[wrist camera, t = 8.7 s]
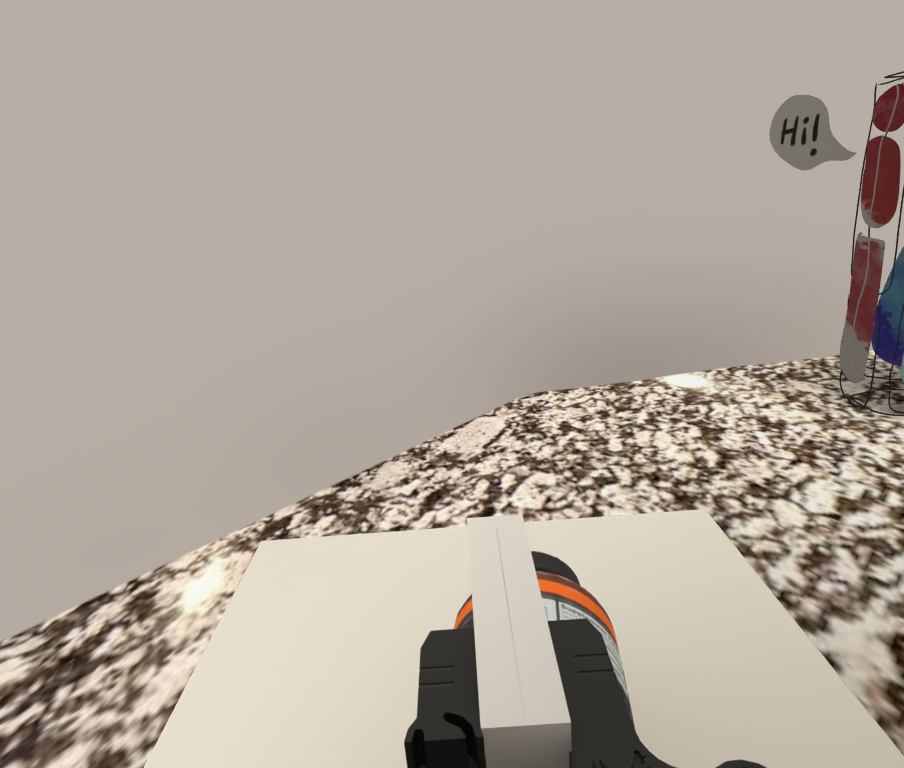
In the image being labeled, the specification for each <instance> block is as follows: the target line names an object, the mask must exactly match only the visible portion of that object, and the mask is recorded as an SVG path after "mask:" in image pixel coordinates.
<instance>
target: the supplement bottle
mask: <svg viewBox="0 0 904 768" xmlns="http://www.w3.org/2000/svg"><path fill="white" fill-rule="evenodd" d="M531 554H532V558H533V562H534V567H535V571H536V575H537V579H538V584H539V588H540V592H541V596H542V601H543V605H544V609H545V613H546V618H547V621H555V620H569V619H583V618H587V619H588V620H589V621H590V622H591V623H592V624H593V626H594V627H595V628H596V629H597V630H598V631H599V632H600V633H601V634H602V637H603V639H604V642H605V645H606V648H607V651H608V655H609V657H610V659H611V662H612V665H613V668H614V673H615V674H616V677H617V679H618V682H619V685H620V688H621V691H622V694H623V697H624V699H625V702H626V705H627V708H628V711H629V714H630V717H631V719H632V722H633V725H634V721H633V715H632V711H631V706H630V701H629V696H628V692H627V686H626V681H625V676H624V671H623V668H622V662H621V659H620V653H619V649H618V644H617V640H616V635H615V632H614V629H613V626H612V623H611V620H610V618H609V616H608V615H607V613H606V611H605V610H604V608H603V607H602V606H601V604H600V603H599V602H598V600H597V599H596V598H595V597H594V596H593V595H592V594H591V593H590V592H588V591H587V590H586V589H585V588H583V587H581V586H580V583H579V580H578V578H577V576H576V574H575V573H574V571H573V570H572V569H571V568H570V567H569V566H568V565H567V564H566V563H565V562H563V561H561V560H560V559H559V558H557V557H554V556H552V555H549V554H546V553H543V552H537V551H531ZM462 628H474V619H473V603H472V594H471V595H470V596H469V597H468V599H467V600H466V602H465V603H464V604H463V606H462V607H461V609H460V610H459V612H458V614H457V618H456V621H455V626H454V629H462ZM634 728H635V727H634Z"/></svg>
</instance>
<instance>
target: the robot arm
mask: <svg viewBox="0 0 904 768" xmlns="http://www.w3.org/2000/svg"><path fill="white" fill-rule="evenodd" d="M467 527H468V542H469V557H470V573H471V588H472V603H473V619H474V628H462V629H447V630H433V631H430V633H429V634H428V636H427V638H426V639H425V641H424V643H423V645H422V646H421V648H420V666H419V669H420V672H419V688H418V703H417V718H416V719H415V721H414V722H413V723H412V724H411V726H410V727H409V728H408V730H407V734H406V737H405V740H404V747H405V754H406V761H407V768H677V767H674V766H671V765H669V764H667V763H665V762H663V761H662V760H660V759H658V758H657V757H656V756H654V755H653V754H652V753H651V752H650V751H649V750H648V749H647V748H646V747H645V746H644V745H643V743H642V742H641V741H640V739H639V737H638V735H637V733H636V731H635V728H634V725H633V722H632V719H631V717H630V714H629V711H628V708H627V705H626V702H625V699H624V697H623V694H622V691H621V688H620V685H619V682H618V679H617V677H616V674H615V673H614V668H613V665H612V662H611V659H610V657H609V655H608V651H607V648H606V645H605V642H604V639H603V637H602V634H601V633H600V632H599V631H598V630H597V629H596V628H595V627H594V626H593V624H592V623H591V622H590V621H589V620H588V619H587V618H583V619H569V620H555V621H547V618H546V613H545V609H544V605H543V601H542V596H541V592H540V588H539V584H538V579H537V575H536V571H535V567H534V562H533V558H532V554H531V550H530V545H529V541H528V537H527V532H526V528H525V524H524V520H523V515H508V516H494V517H480V518H467ZM716 768H766V767H765V766H763V765H761V764H759V763H755V762H751V761H746V760H742V759H741V760H731V761H726V762H724V763H722V764H721V765H719V766H717V767H716Z"/></svg>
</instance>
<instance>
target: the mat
mask: <svg viewBox="0 0 904 768" xmlns="http://www.w3.org/2000/svg"><path fill="white" fill-rule="evenodd" d="M524 524H525V528H526V532H527V537H528V541H529V545H530V550H531V551H537V552H543V553H546V554H549V555H552V556H554V557H557V558H559V559H560V560H561V561H563V562H565V563H566V564H567V565H568V566H569V567H570V568H571V569H572V570H573V571H574V573H575V574H576V576H577V578H578V580H579V583H580V586H581V587H583V588H585V589H586V590H587V591H588V592H590V593H591V594H592V595H593V596H594V597H595V598H596V599H597V600H598V602H599V603H600V604H601V606H602V607H603V608H604V610H605V611H606V613H607V615H608V616H609V618H610V620H611V623H612V626H613V629H614V632H615V635H616V640H617V644H618V649H619V653H620V659H621V662H622V668H623V671H624V676H625V681H626V686H627V692H628V696H629V701H630V706H631V711H632V715H633V721H634V727H635V731H636V733H637V735H638V737H639V739H640V741H641V742H642V743H643V745H644V746H645V747H646V748H647V749H648V750H649V751H650V752H651V753H652V754H653V755H654V756H656V757H657V758H658V759H660V760H662V761H663V762H665V763H667V764H669V765H671V766H674V767H677V768H716V767H717V766H719V765H721V764H722V763H724V762H726V761H731V760H741V759H742V760H746V761H751V762H755V763H759V764H761V765H763V766H765V767H766V768H904V756H903V755H902V753H901V752H900V751H899V750H898V748H897V747H896V746H895V745H894V743H893V742H892V741H891V740H890V738H889V737H888V736H887V735H886V733H885V732H884V731H883V730H882V728H881V727H880V726H879V725H878V724H877V722H876V721H875V720H874V719H873V717H872V716H871V715H870V714H869V712H868V711H867V710H866V709H865V707H864V706H863V705H862V704H861V702H860V701H859V700H858V699H857V697H856V696H855V695H854V694H853V692H852V691H851V690H850V689H849V687H848V686H847V685H846V684H845V683H844V681H843V680H842V679H841V678H840V676H839V675H838V674H837V673H836V671H835V670H834V669H833V668H832V666H831V665H830V664H829V663H828V661H827V660H826V659H825V658H824V656H823V655H822V654H821V653H820V651H819V650H818V649H817V648H816V647H815V645H814V644H813V643H812V642H811V640H810V639H809V638H808V637H807V635H806V634H805V633H804V632H803V630H802V629H801V628H800V627H799V625H798V624H797V623H796V622H795V620H794V619H793V618H792V617H791V615H790V614H789V613H788V612H787V610H786V609H785V608H784V607H783V606H782V604H781V603H780V602H779V601H778V599H777V598H776V597H775V596H774V594H773V593H772V592H771V591H770V589H769V588H768V587H767V586H766V584H765V583H764V582H763V581H762V579H761V578H760V577H759V576H758V574H757V573H756V572H755V571H754V570H753V568H752V567H751V566H750V565H749V563H748V562H747V561H746V560H745V558H744V557H743V556H742V555H741V553H740V552H739V551H738V550H737V548H736V547H735V546H734V545H733V543H732V542H731V541H730V540H729V538H728V537H727V536H726V535H725V533H724V532H723V531H722V530H721V529H720V527H719V526H718V525H717V524H716V522H715V521H714V520H713V519H712V517H711V516H710V515H709V514H708V512H707V511H706V510H705V509H703V510H689V511H675V512H661V513H647V514H633V515H619V516H605V517H591V518H577V519H564V520H550V521H536V522H524ZM471 594H472V588H471V573H470V557H469V542H468V527H467V526H466V527H452V528H438V529H424V530H410V531H397V532H383V533H369V534H355V535H341V536H327V537H313V538H299V539H285V540H271V541H261V543H260V545H259V547H258V549H257V551H256V553H255V555H254V556H253V558H252V560H251V562H250V564H249V566H248V568H247V570H246V572H245V574H244V576H243V578H242V580H241V581H240V583H239V585H238V587H237V589H236V591H235V593H234V595H233V597H232V599H231V601H230V603H229V605H228V606H227V608H226V610H225V612H224V614H223V616H222V618H221V620H220V622H219V624H218V626H217V628H216V630H215V631H214V633H213V635H212V637H211V639H210V641H209V643H208V645H207V647H206V649H205V651H204V653H203V655H202V656H201V658H200V660H199V662H198V664H197V666H196V668H195V670H194V672H193V674H192V676H191V678H190V680H189V681H188V683H187V685H186V687H185V689H184V691H183V693H182V695H181V697H180V699H179V701H178V703H177V705H176V706H175V708H174V710H173V712H172V714H171V716H170V718H169V720H168V722H167V724H166V726H165V728H164V730H163V731H162V733H161V735H160V737H159V739H158V741H157V743H156V745H155V747H154V749H153V751H152V753H151V755H150V757H149V758H148V760H147V762H146V764H145V766H144V768H407V761H406V754H405V747H404V740H405V737H406V734H407V730H408V728H409V727H410V726H411V724H412V723H413V722H414V721H415V719H416V718H417V703H418V688H419V672H420V669H419V666H420V648H421V646H422V645H423V643H424V641H425V639H426V638H427V636H428V634H429V633H430V631H433V630H447V629H454V626H455V621H456V618H457V614H458V612H459V610H460V609H461V607H462V606H463V604H464V603H465V602H466V600H467V599H468V597H469V596H470V595H471Z"/></svg>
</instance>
